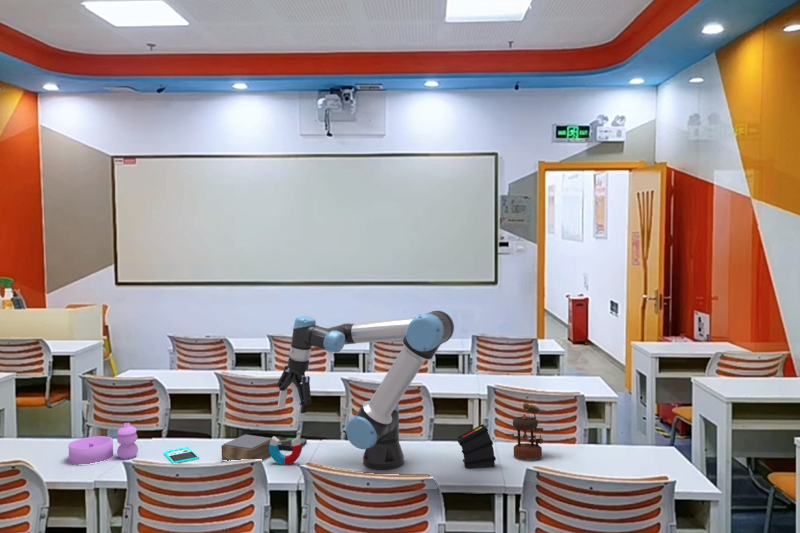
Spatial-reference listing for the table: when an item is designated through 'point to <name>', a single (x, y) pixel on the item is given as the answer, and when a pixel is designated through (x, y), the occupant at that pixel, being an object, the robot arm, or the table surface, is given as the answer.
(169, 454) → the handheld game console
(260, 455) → the walnut stand
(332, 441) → the table surface
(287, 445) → the disk drive
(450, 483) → the table surface
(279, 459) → the magnet
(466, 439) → the magazine
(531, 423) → the music box
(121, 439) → the container set
